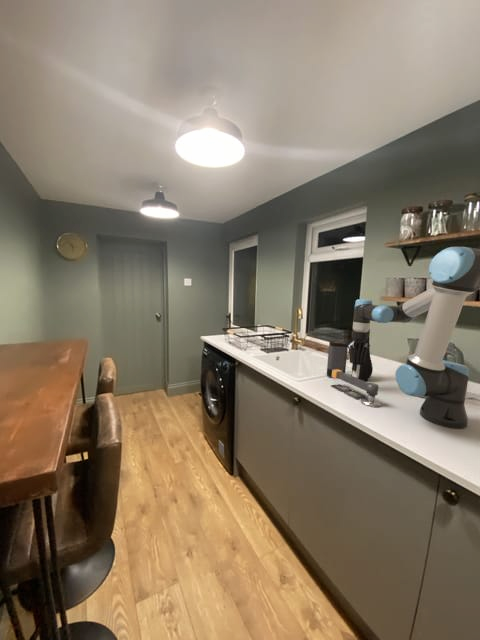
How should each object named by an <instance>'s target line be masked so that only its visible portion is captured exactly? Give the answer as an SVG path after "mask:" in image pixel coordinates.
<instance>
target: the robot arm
mask: <svg viewBox="0 0 480 640" xmlns="http://www.w3.org/2000/svg"><path fill="white" fill-rule="evenodd" d="M428 273H429V274H430V275H429V276H430V278H431V280H432V283H431V287H430V288H429V289H427V290H425V291H423V292H421V293H419V294H418V295H415V296H414V297H412V298H411V299H409V300H407V301H405V302H404V303H401V304H400V305H377V304H373V300H370V299H356V300H355V304H354V310H353V311H354V312H353V321H352V332H351V338H352V340H351V342H350V344H349V343H348V345H347V346H348V349H347V350H348V356H349V357H348V358H349V363H350V364H351V365H352V364H353V367H352V366H351V371H352V370H353V373H352V375H351V376H353V377H355V378H359V371H360V366H361V365H363V364H362V363H364V362H365V358H366V355H367V352H368V349H369V347H371V344H370V343H369V344H367V341H366V340H367V339H368V335H369V333H368V331H369V329H370V327H371V326H370V325H371V322H375V323H378V324H381V323H382V324H388V323H402V324H406V323H411V322H414V320H415V319H416V317H417V316H419V315H421V314H423V313H426V312H427V311H428V313H427V315H426V318H425V321H424V323H423V327H422V330H421V333H420V336H419V338H418V342H417V344H416V347H415V351H414V353H412V354H410V355H408V356H407V360H406V362H405V363H403V364H401V365H399V366H398V367H397V368H396V370H395V375H394V376H395V381H396V383H397V386H398V388H399V389H400V391H401V392H403V394H406V395H407V396H409V397H416V398H417V397H418V398H422V397H426V398H425V399H424V402H422V404H421V406H420V409H419V416H421V417H422V418H423V419H424V420H427V421H429V422H431V423H433V424H436V425H439V426H442V427H446V428H451V429H466V428H467V427H468V424H469V423H468V422H469V421H468V420H469V418H468V415H467V411H466V406H465V401H466V396H467V390H468V389H467V388H468V384H469V383H468V381H469V379H470V369H469V367H468V366H466V365H464V364H461V363H457V362H454V361H449V360H445V359H444V357H445V354H446V352H447V349H448V346H449V344H450V341H451V338H452V335H453V333H454V330H455V327H456V325H457V322H458V320H459V317H460V315H461V311H462V308H463V306H464V304H465V300H466V298H467V297H468V296H470V295H472V294H474V293H475V292H477V291H479V290H480V248H474V247H466V246H450V247H446V248H445V249H442V250H440V252H438V253H437V254H436V255H435V256H433V258H432V259H431V261H430V264H429V267H428Z"/></svg>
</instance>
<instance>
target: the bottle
mask: <svg viewBox="0 0 480 640" xmlns="http://www.w3.org/2000/svg"><path fill="white" fill-rule="evenodd" d="M370 331H371V329H370V328H369V331H368V333H369V335H368V339H367V340H366V341H367V344H369V345H370V334H371V333H370ZM370 347H371V346H370ZM370 347H369V349H368V352H367V355H366V358H365V362H364V363H362V364H363V365H361V366H360V371H359V378H358V379H360V380H363V381H365V382H368V381H369V379H370V378H371V377H372V375H373V371H374V370H373V367H374V366H373V363H372V359H371V352H370ZM351 365H352V366H351V368H352V367H353V364H352V363H351ZM351 372H352V373H353V370H352V369H351Z"/></svg>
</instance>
